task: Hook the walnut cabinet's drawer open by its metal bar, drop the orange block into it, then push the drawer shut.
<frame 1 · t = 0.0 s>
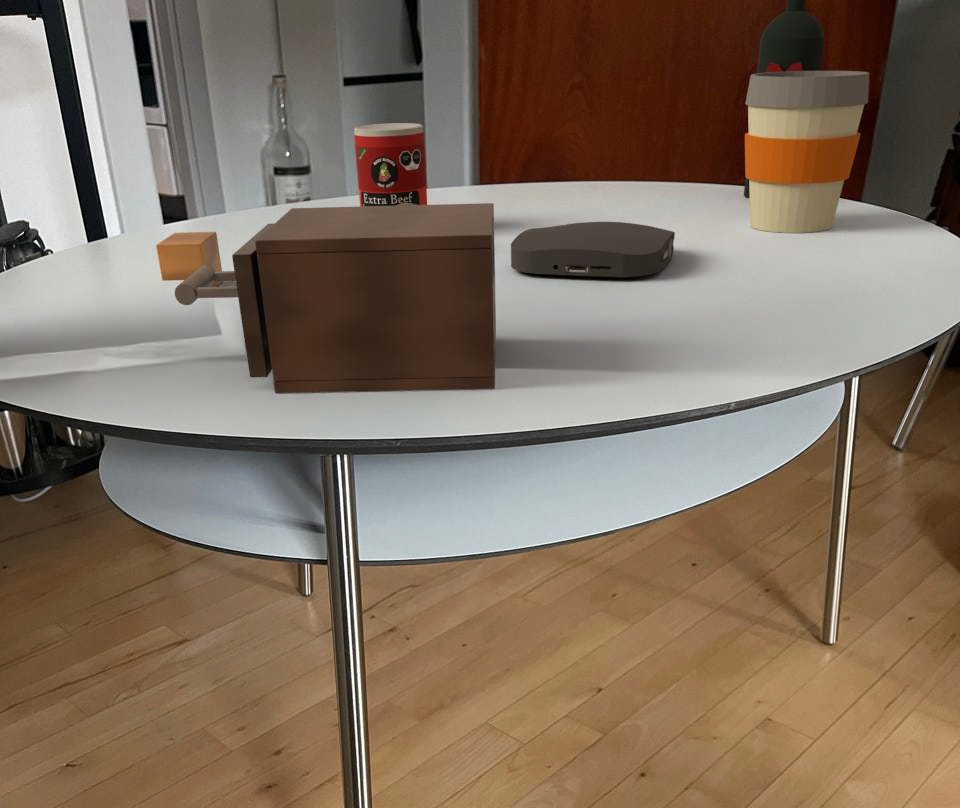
reusable coffee cup: (790, 227, 115), on the table
seashell: (397, 258, 106), on the table
wine bottle: (772, 198, 133), on the table
media streaming box: (593, 265, 101), on the table
cabinet: (393, 363, 73), on the table
canned food: (395, 233, 119), on the table
drawer: (320, 296, 71), point 5 cm above the table, slide at 0.5 cm
orange block: (195, 288, 96), on the table
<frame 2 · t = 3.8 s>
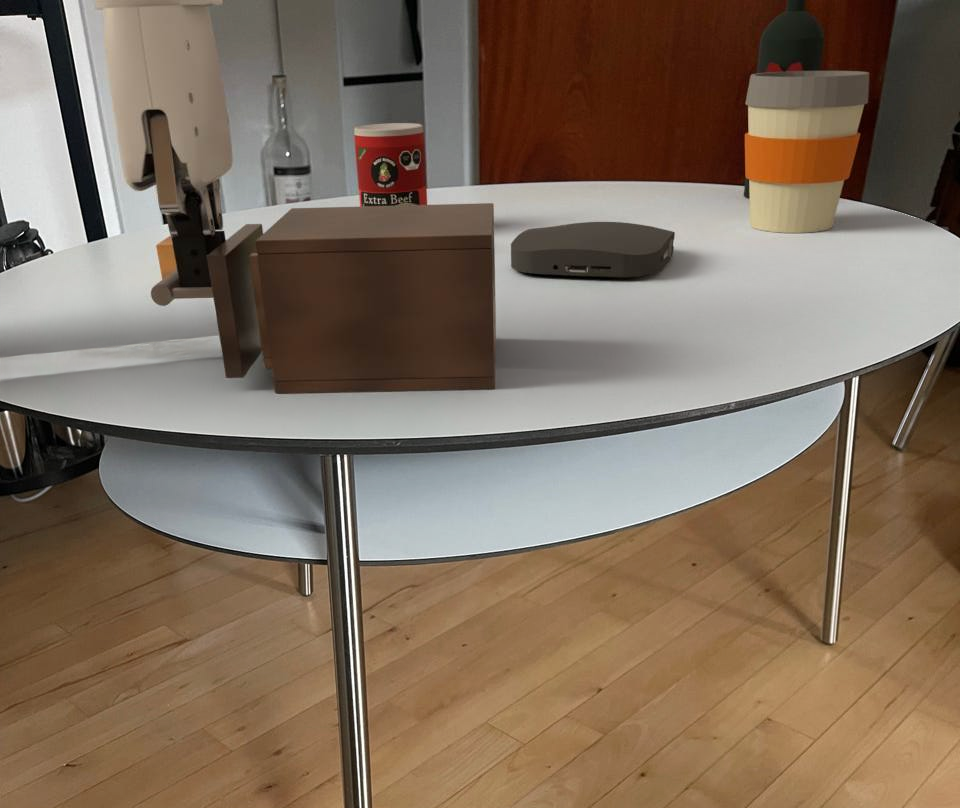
hand: (208, 294, 71), 5 cm above the table, tool pointing down, fingers closed
drawer: (297, 296, 71), point 5 cm above the table, slide at 2.1 cm, touching gripper
everything else where it was.
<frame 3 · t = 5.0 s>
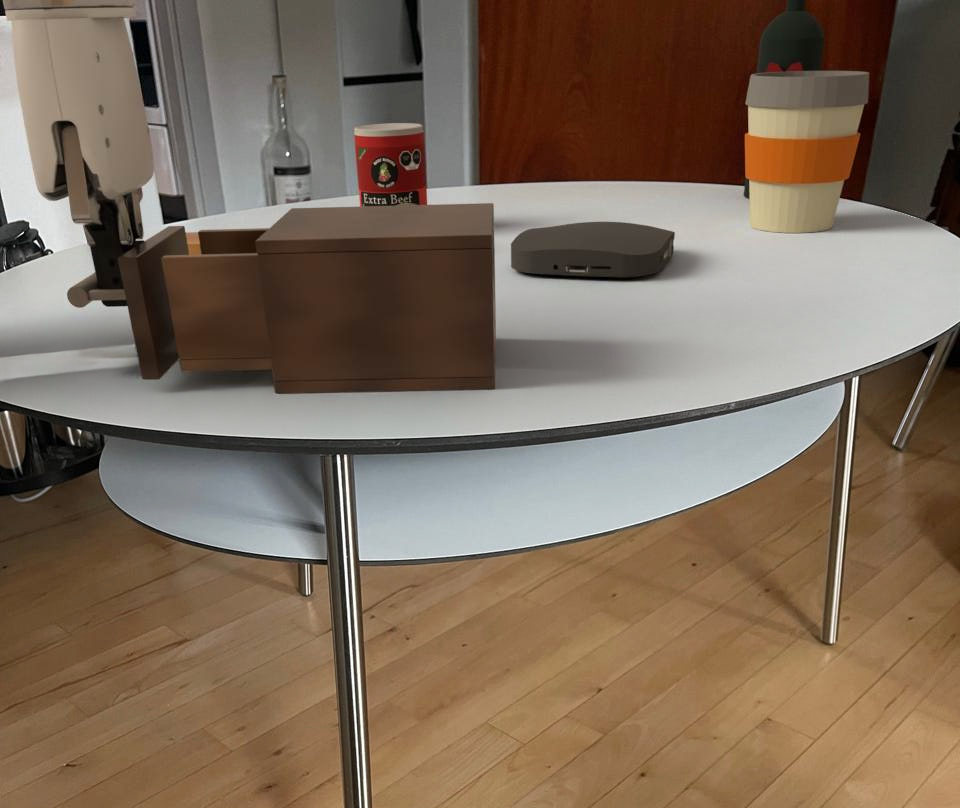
hand: (129, 302, 71), 5 cm above the table, tool pointing down, fingers closed
drawer: (216, 298, 71), point 5 cm above the table, slide at 7.7 cm, touching gripper
everything else where it was.
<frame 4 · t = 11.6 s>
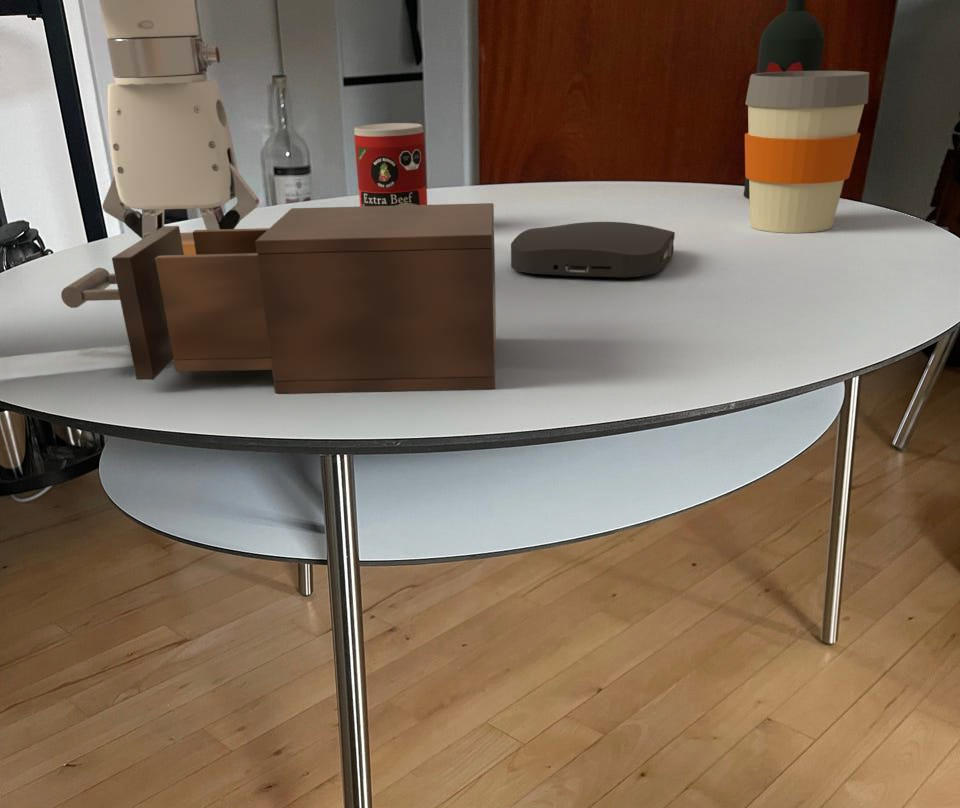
hand: (194, 285, 96), 0 cm above the table, tool pointing down, fingers closed on orange block, 4 cm apart
drawer: (211, 298, 71), point 5 cm above the table, slide at 8.1 cm
orange block: (195, 288, 96), on the table, touching gripper
everything else where it was.
when the fingers open (9 cm above the table, at t = 17.4 s): orange block drops 7 cm, resting on drawer.
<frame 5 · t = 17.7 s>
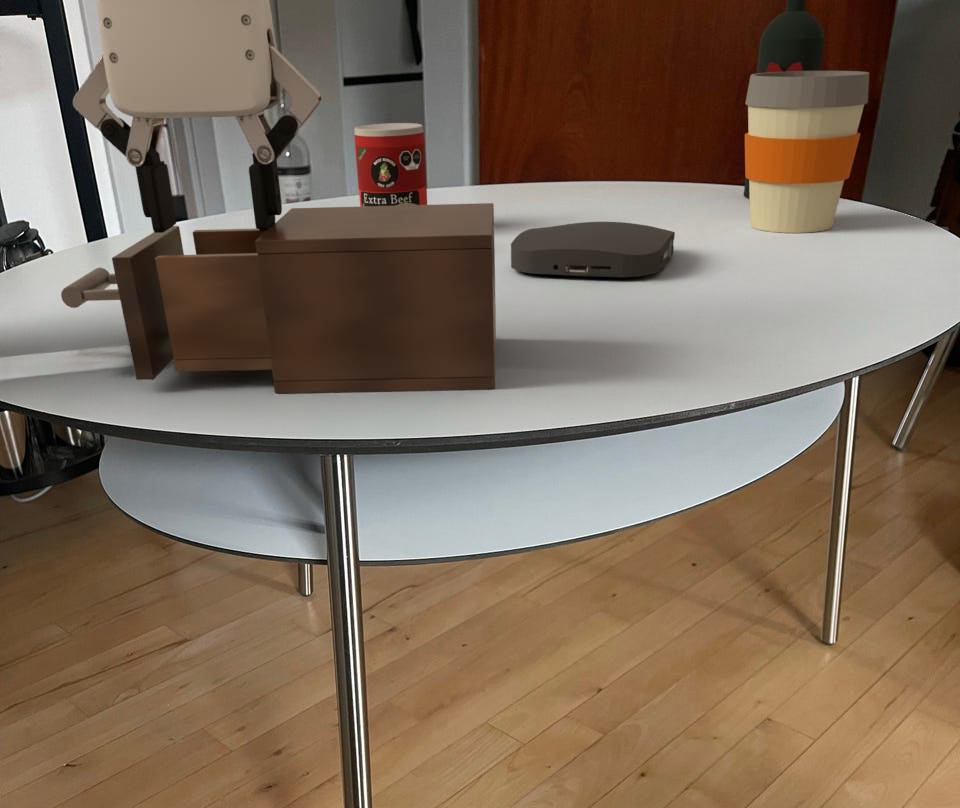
hand: (215, 225, 68), 10 cm above the table, tool pointing down, fingers open, 6 cm apart
drawer: (211, 298, 71), point 5 cm above the table, slide at 8.1 cm, touching orange block
orange block: (235, 338, 72), point 2 cm above the table, touching drawer
everything else where it was.
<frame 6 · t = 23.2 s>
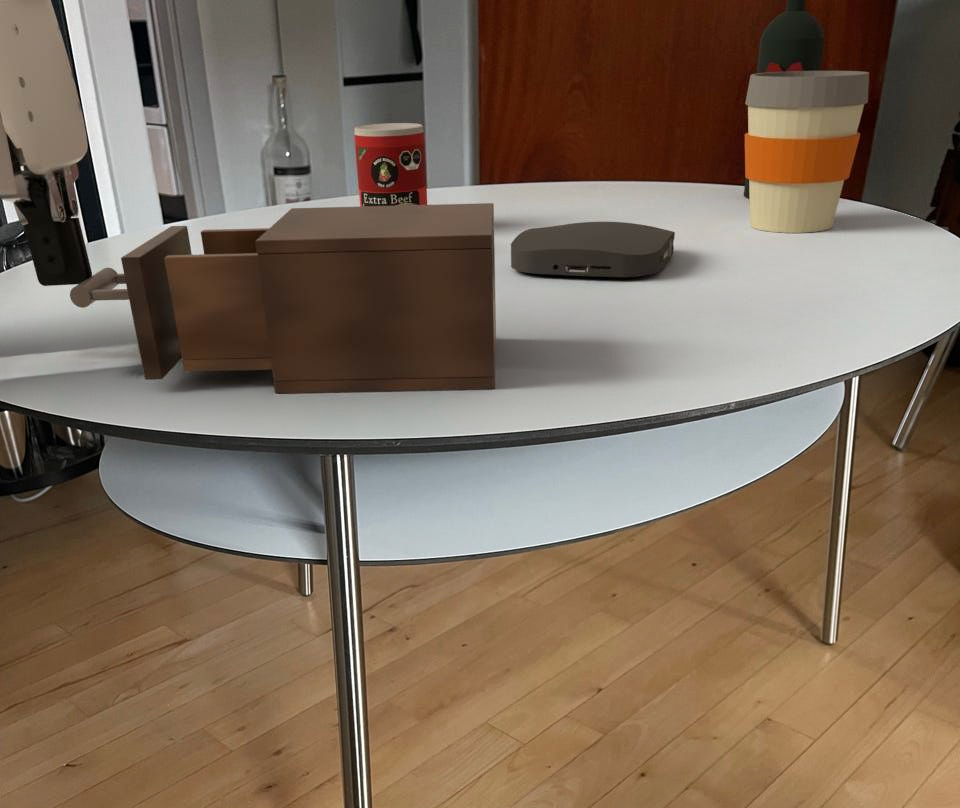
hand: (66, 281, 71), 6 cm above the table, tool pointing down, fingers closed
drawer: (219, 298, 71), point 5 cm above the table, slide at 7.5 cm, touching gripper, orange block
everything else where it was.
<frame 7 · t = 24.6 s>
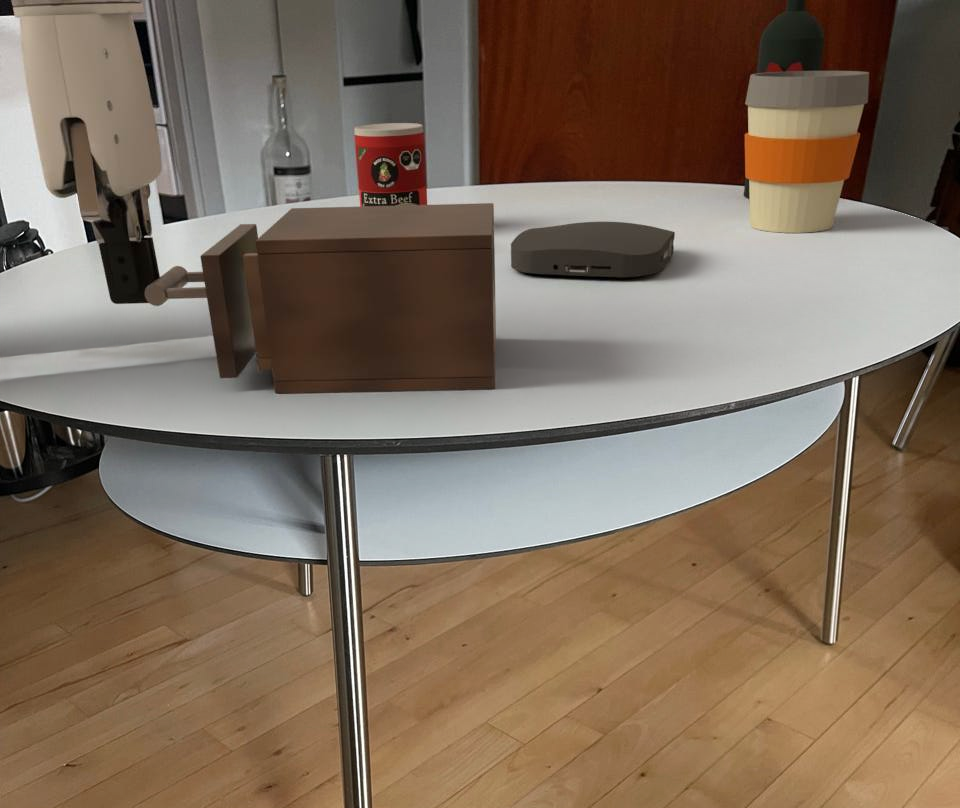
hand: (137, 300, 71), 5 cm above the table, tool pointing down, fingers closed
drawer: (291, 296, 71), point 5 cm above the table, slide at 2.5 cm, touching gripper, orange block
orange block: (314, 337, 72), point 2 cm above the table, touching drawer
everything else where it was.
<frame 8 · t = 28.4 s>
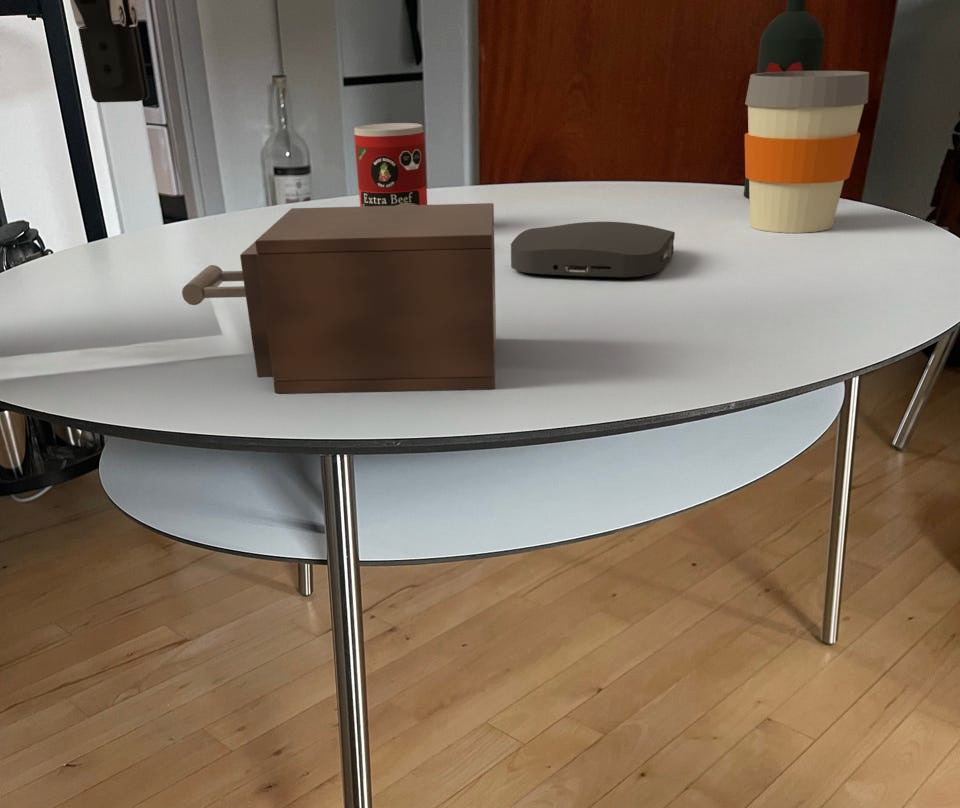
hand: (122, 100, 65), 17 cm above the table, tool pointing down, fingers closed
drawer: (327, 296, 71), point 5 cm above the table, slide at 0.0 cm, touching cabinet, orange block
orange block: (350, 336, 72), point 2 cm above the table, touching drawer
everything else where it was.
at the end: orange block inside the target area in the cabinet (2.9 cm from its centre), point 2.0 cm above the cabinet's base; drawer slide at 0.0 cm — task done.
